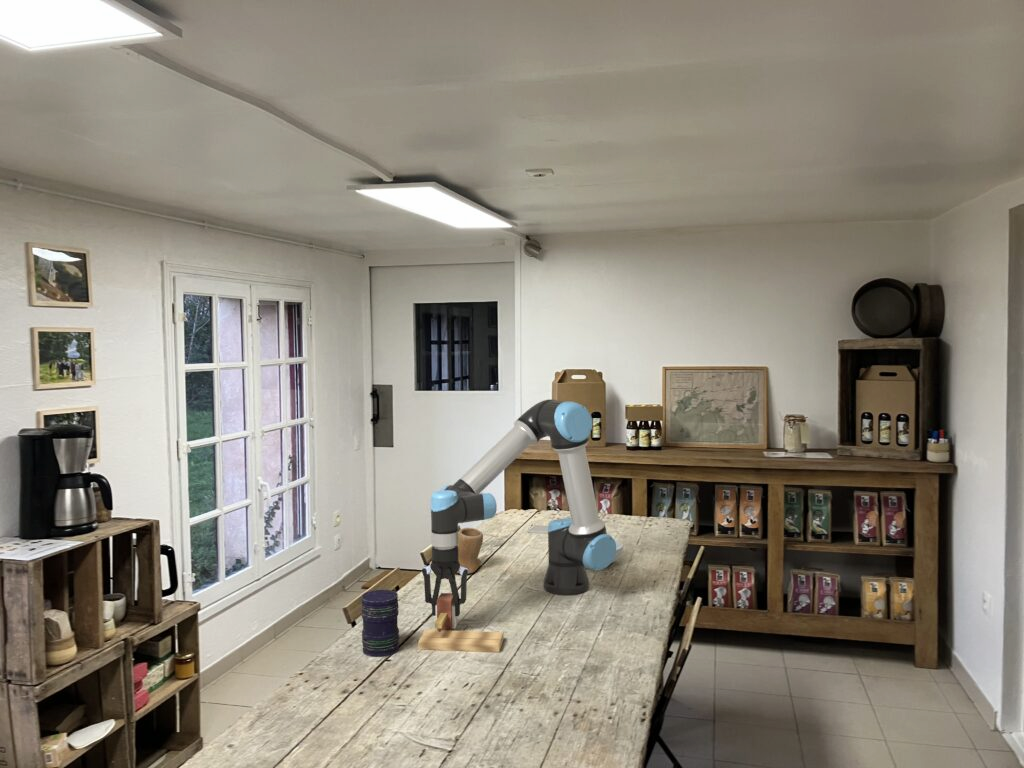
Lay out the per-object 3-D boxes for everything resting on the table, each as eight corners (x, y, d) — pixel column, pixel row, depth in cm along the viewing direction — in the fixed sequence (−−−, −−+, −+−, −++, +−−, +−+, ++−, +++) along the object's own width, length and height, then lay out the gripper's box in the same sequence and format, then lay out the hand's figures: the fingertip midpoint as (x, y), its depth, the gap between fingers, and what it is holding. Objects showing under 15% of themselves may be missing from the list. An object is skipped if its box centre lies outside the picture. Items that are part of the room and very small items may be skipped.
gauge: (455, 624, 229) (454, 593, 229) (445, 643, 216) (445, 610, 215) (441, 623, 230) (441, 593, 229) (431, 642, 216) (430, 610, 215)
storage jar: (368, 660, 208) (367, 604, 207) (357, 647, 217) (356, 593, 216) (404, 652, 212) (403, 597, 211) (392, 640, 221) (391, 587, 220)
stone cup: (478, 577, 277) (478, 534, 276) (445, 575, 279) (445, 533, 278) (489, 564, 292) (488, 524, 291) (458, 563, 294) (457, 523, 293)
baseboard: (599, 540, 326) (605, 533, 337) (599, 533, 326) (605, 526, 337) (527, 535, 335) (535, 528, 347) (527, 528, 335) (535, 521, 346)
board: (503, 639, 221) (503, 632, 221) (499, 652, 212) (499, 645, 212) (425, 636, 223) (425, 629, 223) (418, 649, 214) (418, 642, 214)
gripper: (476, 543, 228) (478, 622, 229) (418, 541, 230) (419, 621, 231) (472, 550, 220) (473, 632, 222) (412, 548, 222) (413, 630, 224)
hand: (446, 626), depth 226 cm, fingers closed on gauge, 4 cm apart
